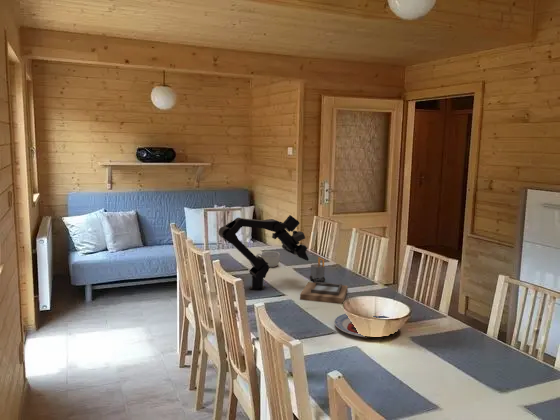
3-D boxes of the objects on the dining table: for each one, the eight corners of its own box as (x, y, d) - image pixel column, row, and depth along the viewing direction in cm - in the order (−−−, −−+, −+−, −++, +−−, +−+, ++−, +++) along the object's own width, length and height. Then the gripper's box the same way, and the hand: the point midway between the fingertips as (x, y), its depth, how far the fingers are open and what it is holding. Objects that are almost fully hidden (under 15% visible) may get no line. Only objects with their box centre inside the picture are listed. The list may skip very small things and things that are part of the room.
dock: (300, 299, 224) (300, 291, 224) (308, 286, 243) (308, 279, 243) (342, 303, 219) (342, 295, 219) (347, 290, 238) (347, 282, 238)
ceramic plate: (400, 345, 176) (401, 337, 176) (331, 338, 181) (331, 331, 181) (398, 320, 201) (398, 313, 201) (336, 314, 206) (337, 307, 206)
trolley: (314, 283, 249) (315, 260, 247) (309, 280, 255) (310, 257, 253) (325, 282, 252) (325, 259, 250) (319, 279, 257) (320, 256, 255)
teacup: (280, 264, 286) (280, 251, 285) (278, 269, 276) (278, 255, 274) (257, 263, 288) (257, 250, 286) (254, 267, 277) (255, 254, 276)
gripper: (304, 230, 236) (322, 250, 242) (288, 223, 252) (305, 243, 258) (289, 246, 233) (308, 266, 240) (274, 239, 250) (292, 258, 256)
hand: (303, 258), depth 248 cm, fingers open, 9 cm apart
